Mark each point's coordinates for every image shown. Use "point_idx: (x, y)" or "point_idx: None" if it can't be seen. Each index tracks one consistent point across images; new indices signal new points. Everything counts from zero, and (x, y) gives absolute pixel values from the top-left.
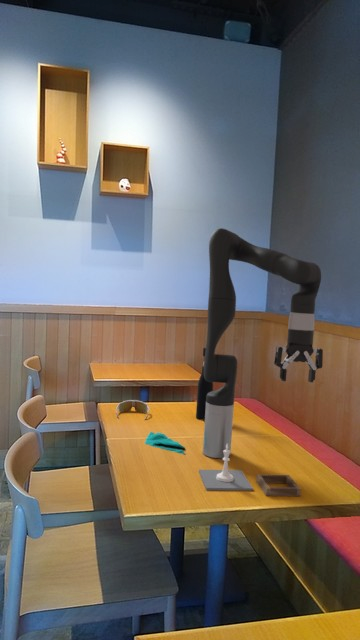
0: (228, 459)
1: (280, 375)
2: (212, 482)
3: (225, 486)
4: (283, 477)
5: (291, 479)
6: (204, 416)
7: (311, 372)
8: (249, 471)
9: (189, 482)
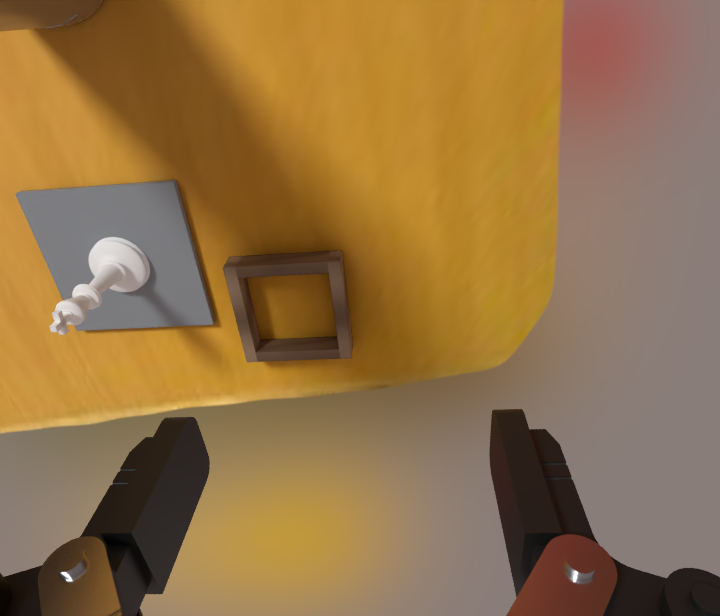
0: (95, 306)
1: (129, 478)
2: None
3: (130, 318)
4: (318, 271)
5: (340, 296)
6: None
7: (510, 564)
8: (208, 168)
9: (19, 281)
